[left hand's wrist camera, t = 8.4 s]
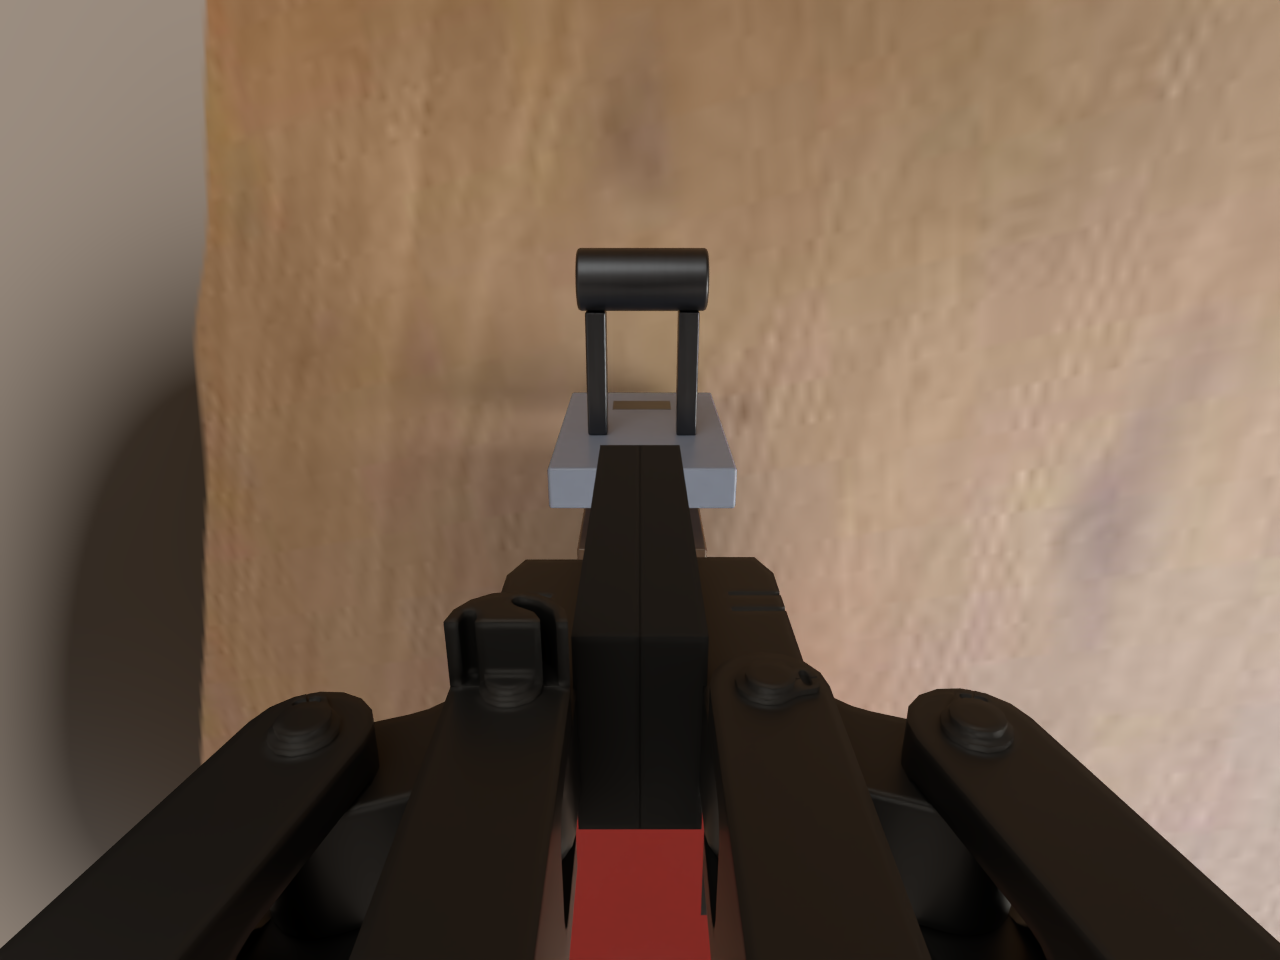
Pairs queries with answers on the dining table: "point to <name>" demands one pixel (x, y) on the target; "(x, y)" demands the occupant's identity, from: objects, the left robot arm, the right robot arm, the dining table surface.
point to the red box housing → (639, 895)
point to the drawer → (642, 416)
